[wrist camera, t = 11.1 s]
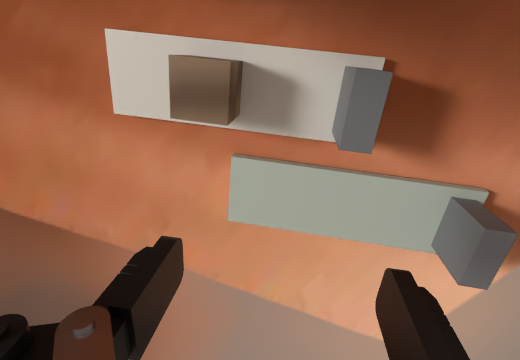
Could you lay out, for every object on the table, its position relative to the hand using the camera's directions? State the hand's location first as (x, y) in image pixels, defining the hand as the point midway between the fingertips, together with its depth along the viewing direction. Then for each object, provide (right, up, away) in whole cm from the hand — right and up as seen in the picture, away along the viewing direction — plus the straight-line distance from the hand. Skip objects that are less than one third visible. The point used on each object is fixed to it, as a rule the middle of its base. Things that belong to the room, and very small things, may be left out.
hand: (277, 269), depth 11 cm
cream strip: (-3, +13, +17) cm, 22 cm away
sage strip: (+9, +1, +20) cm, 22 cm away
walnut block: (-5, +13, +16) cm, 21 cm away
